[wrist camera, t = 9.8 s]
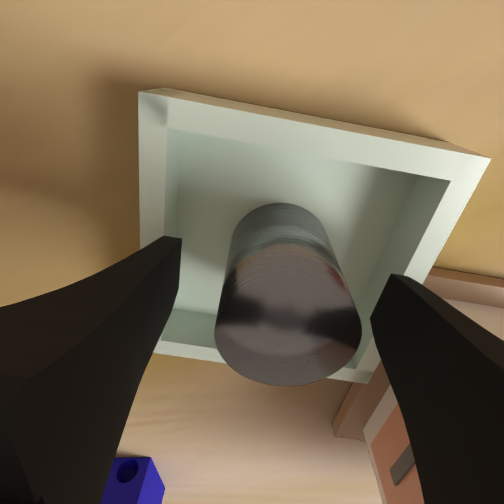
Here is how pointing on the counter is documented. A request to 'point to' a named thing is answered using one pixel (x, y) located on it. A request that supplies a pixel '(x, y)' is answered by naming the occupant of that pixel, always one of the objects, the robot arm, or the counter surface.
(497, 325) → the mounted housing
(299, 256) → the coupling
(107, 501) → the blue cradle block
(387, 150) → the parts tray
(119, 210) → the counter surface
